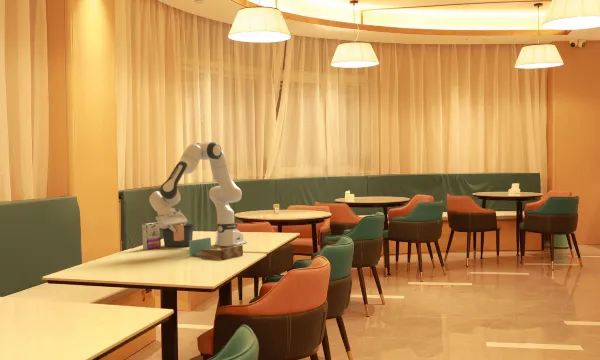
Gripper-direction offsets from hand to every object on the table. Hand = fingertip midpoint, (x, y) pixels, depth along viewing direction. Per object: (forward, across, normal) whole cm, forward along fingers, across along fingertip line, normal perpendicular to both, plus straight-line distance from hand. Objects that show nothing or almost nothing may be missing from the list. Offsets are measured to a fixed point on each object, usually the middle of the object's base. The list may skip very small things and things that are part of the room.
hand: (179, 231), depth 384 cm
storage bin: (-12, +31, +34) cm, 48 cm away
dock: (+28, +8, -8) cm, 30 cm away
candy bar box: (-17, +13, +38) cm, 44 cm away
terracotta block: (+3, 0, +4) cm, 5 cm away
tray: (+21, +9, -1) cm, 23 cm away
